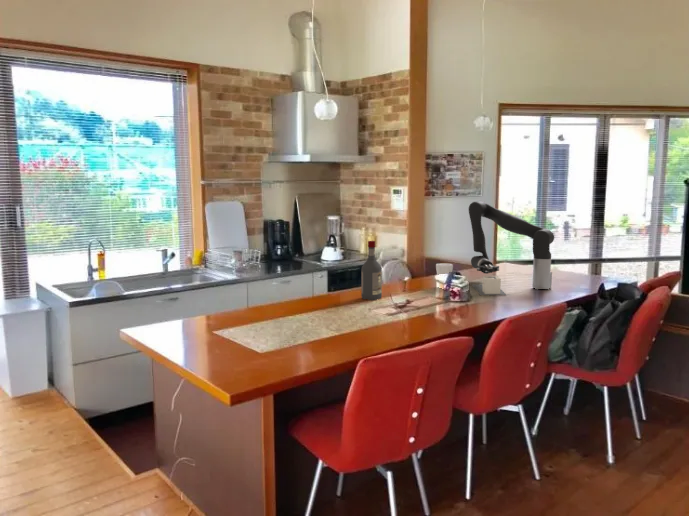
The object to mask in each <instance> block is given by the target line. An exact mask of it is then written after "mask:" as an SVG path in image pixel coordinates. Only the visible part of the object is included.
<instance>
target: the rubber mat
mask: <svg viewBox="0 0 689 516" xmlns="http://www.w3.org/2000/svg"><path fill="white" fill-rule="evenodd" d="M471 286H472V288H473V289H474V290H475V291H476V292H477V293H478V295H479V294H480V295H507V294H506V292H504V291H503V290H502V289H501V288H500V294H485V293H484V292H483V291H482V286H483V284H471ZM480 295H479V296H480Z"/></svg>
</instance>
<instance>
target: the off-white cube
mask: <svg viewBox="0 0 689 516" xmlns="http://www.w3.org/2000/svg"><path fill="white" fill-rule="evenodd" d="M501 281H502V279H501V278H500V277H499V276H496V275H493V276H492V275H491V276H487V275H485V276H482V285H483V286H482V291H483V292H484V293H485V294H500V289H501V285H502V284H501Z"/></svg>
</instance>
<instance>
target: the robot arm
mask: <svg viewBox="0 0 689 516" xmlns="http://www.w3.org/2000/svg"><path fill="white" fill-rule="evenodd" d="M468 214H469V220H470V224H471V229H472V230H471V231H472V239H473V240H472V244H473V251H474V252H475V253H481V255H476V256H475V255H474V256H472V257H471V260H470V264H471V267H473V268H474V269H476V271H477V272H481V273H483V274H492V273H495V272H499V271H500V266H499V265H497V266H495V265H494V263H493V262H492V261H491V260H490V259H489V256H488V252H487V249H486V237H485V233H484V229H483V225H482V218H486V219H488V220H491V221H493V222H494V223H495V224H496V225H498V226H499V227H500V228H501V229H503V230H506V231H508V232H511V233H513V234H516V235H517V234H518V235H521V236H526V237H529V238H530V239H532V253H533V266H532V267H533V269H532V287H533V288H535V289H534V290H538V289H548V290H550V289H549V288H551V289H552V283H553V282H552V280H553V272H552V271H551V267H552V253H551V251H550V246H551V244H552V243H553V242H554V240H555V236H554V233H553V231H551V230H550V229H547V228H545V227H541V226H538V225H535V224H532V223H530V222H529V221H527V220H524V219H522V218H520V217H518V216H516V215H514V214H512V213H509V212H506V211H504V210H501V209H498V208H495V207H494V206H492V205H490V204H488V203H487V202H485V201H482V200H477V201H472V202H471V203H470V204H469V206H468ZM533 288H532V289H533Z"/></svg>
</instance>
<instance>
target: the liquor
mask: <svg viewBox="0 0 689 516" xmlns="http://www.w3.org/2000/svg"><path fill="white" fill-rule="evenodd" d="M367 251H368V252H367V256H368V257H367V260H366V261H365V262H364V263H363V265H362V266H361V270H360V271H361V273H360V274H361V278H360V279H361V289H360V290H361V291H360V292H361V295H360V296H361V299H363V300H365V299H368V300H367V301H377V299H378V300H380V299H382V294H383V293H382V290H383V289H382V286H383V285H382V279H383V278H382V277H383V276H382V275H383V269H382V266H381V264H380V263H379V262H378V261H377V259H376V241H375V240H368V241H367Z"/></svg>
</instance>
